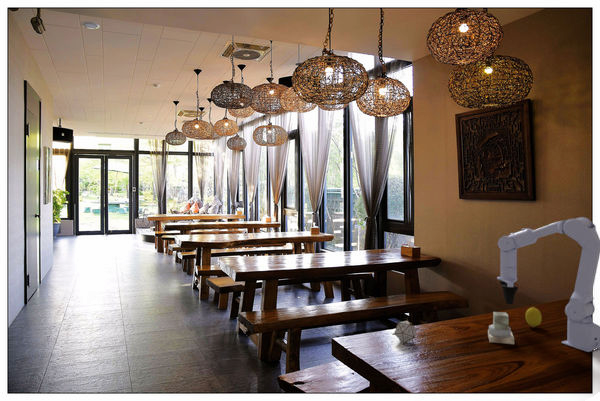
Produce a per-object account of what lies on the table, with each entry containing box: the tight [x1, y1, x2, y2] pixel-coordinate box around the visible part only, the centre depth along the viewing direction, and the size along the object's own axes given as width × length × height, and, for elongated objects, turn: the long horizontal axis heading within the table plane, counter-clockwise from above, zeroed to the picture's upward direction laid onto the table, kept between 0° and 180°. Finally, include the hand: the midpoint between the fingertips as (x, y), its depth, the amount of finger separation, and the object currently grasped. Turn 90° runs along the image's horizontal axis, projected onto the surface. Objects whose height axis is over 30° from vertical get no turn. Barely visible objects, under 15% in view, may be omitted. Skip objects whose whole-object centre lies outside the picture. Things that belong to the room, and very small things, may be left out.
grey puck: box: [488, 323, 512, 338], centre depth 161 cm, size 7×7×2 cm
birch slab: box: [487, 329, 515, 345], centre depth 161 cm, size 8×8×2 cm
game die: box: [391, 318, 419, 346], centre depth 159 cm, size 9×8×10 cm
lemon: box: [525, 306, 542, 328], centre depth 173 cm, size 6×6×8 cm
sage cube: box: [492, 311, 509, 330], centre depth 161 cm, size 4×4×5 cm
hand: (508, 301), depth 173 cm, fingers open, 7 cm apart
